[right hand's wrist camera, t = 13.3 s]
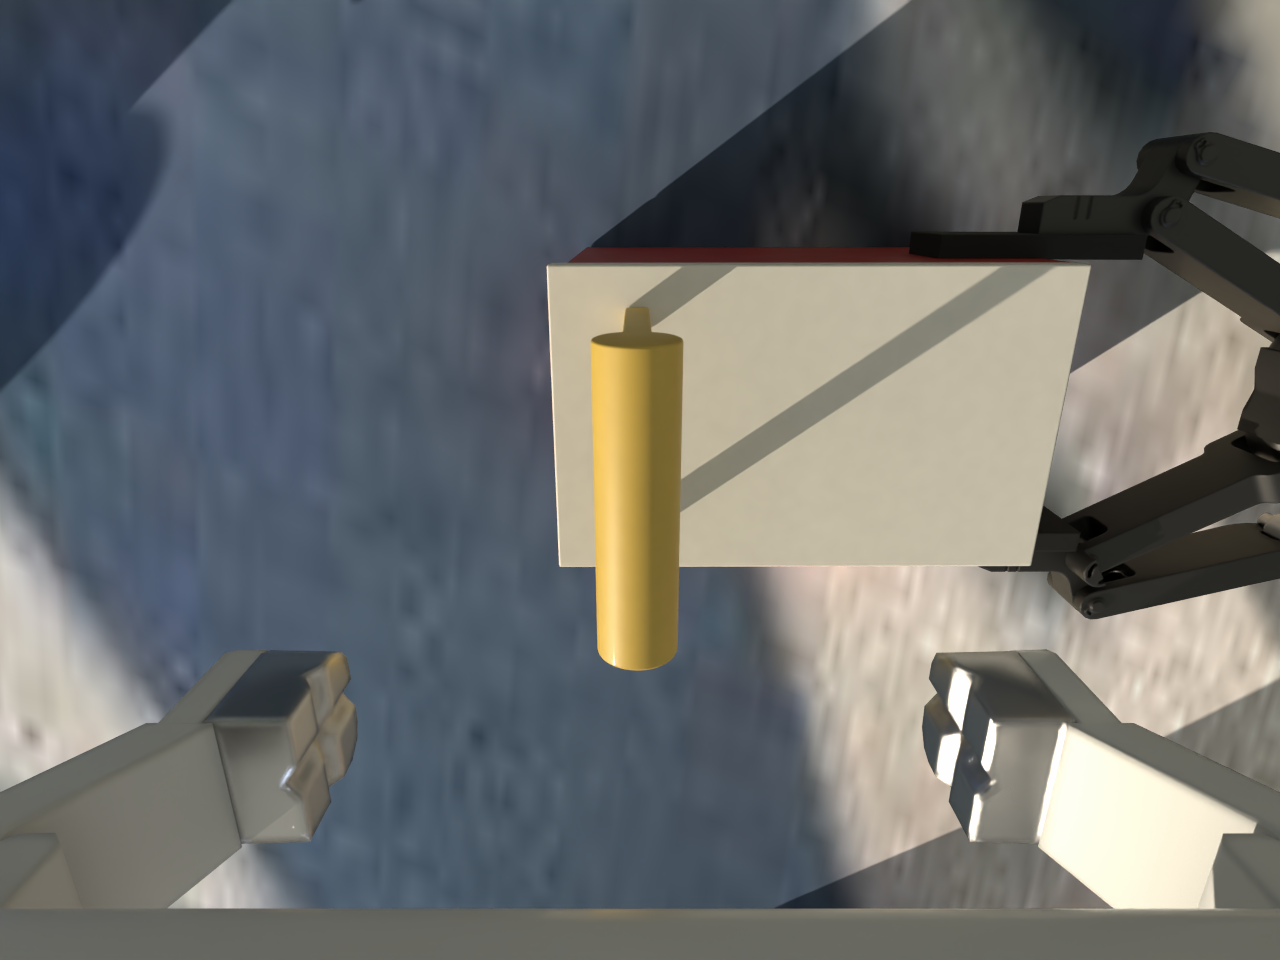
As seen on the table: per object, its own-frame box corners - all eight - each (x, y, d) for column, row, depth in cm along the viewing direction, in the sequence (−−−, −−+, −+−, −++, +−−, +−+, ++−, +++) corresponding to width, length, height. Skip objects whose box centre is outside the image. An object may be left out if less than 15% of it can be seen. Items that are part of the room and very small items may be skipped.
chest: (591, 467, 34) (575, 554, 25) (585, 247, 30) (565, 262, 22) (922, 467, 34) (1017, 553, 25) (952, 246, 30) (1073, 262, 22)
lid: (561, 555, 25) (528, 709, 17) (549, 262, 22) (502, 292, 14) (1018, 554, 25) (1186, 707, 18) (1074, 262, 22) (1312, 292, 14)
